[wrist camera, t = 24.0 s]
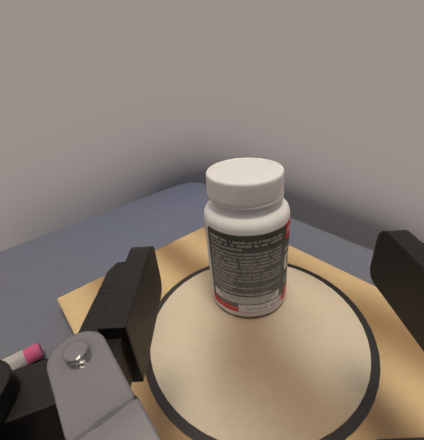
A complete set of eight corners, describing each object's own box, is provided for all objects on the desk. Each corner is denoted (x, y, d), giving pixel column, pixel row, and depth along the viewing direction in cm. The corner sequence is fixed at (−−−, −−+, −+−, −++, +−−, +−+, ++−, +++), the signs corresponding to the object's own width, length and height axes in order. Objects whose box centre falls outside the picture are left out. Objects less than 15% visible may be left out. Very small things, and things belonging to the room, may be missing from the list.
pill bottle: (299, 307, 17) (313, 176, 13) (225, 329, 16) (214, 195, 12) (265, 261, 21) (267, 150, 17) (204, 276, 20) (190, 162, 16)
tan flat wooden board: (227, 223, 29) (226, 213, 28) (544, 384, 13) (557, 370, 13) (61, 308, 20) (55, 297, 20) (410, 1011, 5) (430, 1049, 4)
